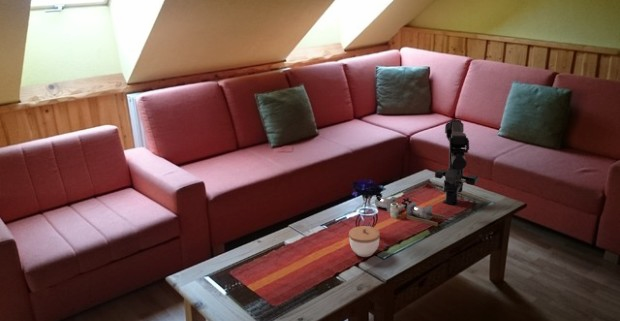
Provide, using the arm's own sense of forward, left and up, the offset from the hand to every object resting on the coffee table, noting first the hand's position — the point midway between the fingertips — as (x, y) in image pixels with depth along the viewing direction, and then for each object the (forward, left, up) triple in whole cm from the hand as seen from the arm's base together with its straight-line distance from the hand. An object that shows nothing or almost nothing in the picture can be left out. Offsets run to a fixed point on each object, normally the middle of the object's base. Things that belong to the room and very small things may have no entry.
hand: (455, 194), depth 239 cm
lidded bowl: (+50, -18, -12) cm, 55 cm away
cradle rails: (+8, -11, -12) cm, 18 cm away
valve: (+10, -23, -12) cm, 28 cm away
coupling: (+8, -14, -12) cm, 20 cm away
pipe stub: (+8, -33, -12) cm, 36 cm away
